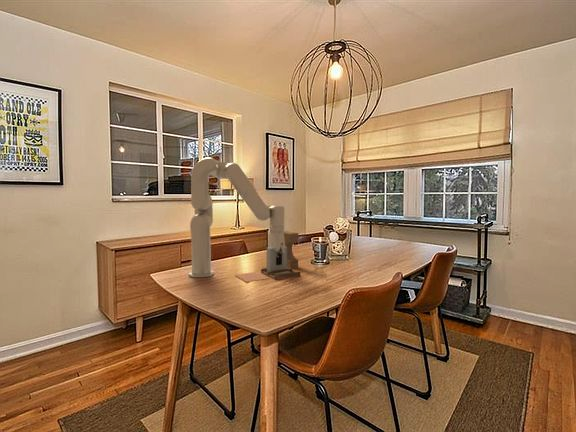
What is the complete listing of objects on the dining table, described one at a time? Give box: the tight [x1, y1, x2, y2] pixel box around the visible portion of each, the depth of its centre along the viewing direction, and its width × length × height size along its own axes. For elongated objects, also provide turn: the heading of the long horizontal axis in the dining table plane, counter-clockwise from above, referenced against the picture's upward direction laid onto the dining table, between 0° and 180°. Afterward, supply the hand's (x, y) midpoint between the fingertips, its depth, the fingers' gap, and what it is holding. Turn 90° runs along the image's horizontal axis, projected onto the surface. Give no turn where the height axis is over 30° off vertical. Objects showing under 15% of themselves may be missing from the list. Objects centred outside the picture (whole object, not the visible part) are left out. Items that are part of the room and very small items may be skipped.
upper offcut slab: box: [273, 271, 292, 276], centre depth 162 cm, size 5×9×1 cm, turn 126°
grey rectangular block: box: [266, 247, 287, 272], centre depth 168 cm, size 4×10×14 cm, turn 122°
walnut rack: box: [260, 267, 301, 281], centre depth 165 cm, size 15×15×2 cm
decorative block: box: [284, 230, 299, 270], centre depth 182 cm, size 11×6×20 cm, turn 38°
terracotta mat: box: [234, 271, 270, 284], centre depth 160 cm, size 14×12×1 cm
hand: (276, 263), depth 168 cm, fingers closed on grey rectangular block, 4 cm apart
